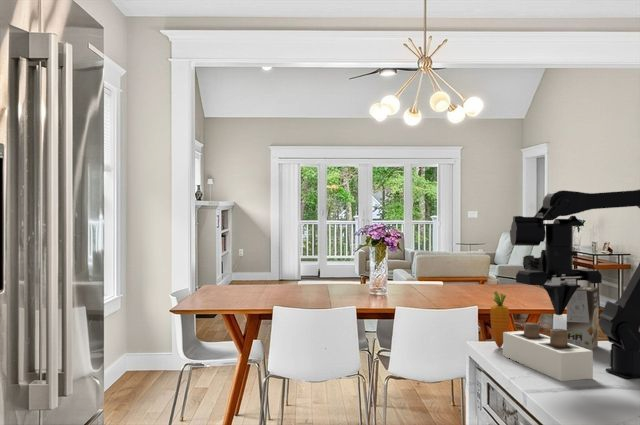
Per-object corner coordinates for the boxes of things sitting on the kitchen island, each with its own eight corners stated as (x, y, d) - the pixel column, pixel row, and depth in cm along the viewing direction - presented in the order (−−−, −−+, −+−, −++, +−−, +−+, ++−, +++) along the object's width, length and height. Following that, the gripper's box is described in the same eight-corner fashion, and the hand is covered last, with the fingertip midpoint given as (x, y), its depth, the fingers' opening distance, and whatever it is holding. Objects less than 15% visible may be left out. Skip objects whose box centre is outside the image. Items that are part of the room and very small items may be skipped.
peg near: (571, 357, 124) (571, 331, 124) (557, 358, 123) (557, 332, 123) (560, 353, 128) (560, 328, 128) (546, 354, 127) (546, 329, 127)
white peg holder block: (592, 378, 121) (592, 351, 121) (561, 381, 119) (561, 353, 119) (530, 354, 142) (530, 330, 142) (503, 355, 140) (503, 332, 140)
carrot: (511, 349, 146) (511, 293, 146) (492, 349, 146) (493, 293, 146) (505, 345, 151) (506, 290, 151) (487, 345, 151) (487, 290, 151)
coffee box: (592, 352, 144) (592, 290, 144) (565, 349, 148) (566, 288, 148) (598, 346, 151) (598, 287, 151) (573, 342, 155) (573, 285, 155)
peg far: (542, 349, 134) (542, 325, 134) (529, 350, 133) (529, 325, 133) (533, 345, 137) (533, 322, 138) (520, 346, 137) (520, 322, 137)
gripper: (569, 243, 136) (569, 307, 136) (502, 244, 131) (502, 310, 131) (603, 246, 125) (603, 315, 125) (531, 247, 120) (531, 319, 120)
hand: (558, 314), depth 126 cm, fingers closed
